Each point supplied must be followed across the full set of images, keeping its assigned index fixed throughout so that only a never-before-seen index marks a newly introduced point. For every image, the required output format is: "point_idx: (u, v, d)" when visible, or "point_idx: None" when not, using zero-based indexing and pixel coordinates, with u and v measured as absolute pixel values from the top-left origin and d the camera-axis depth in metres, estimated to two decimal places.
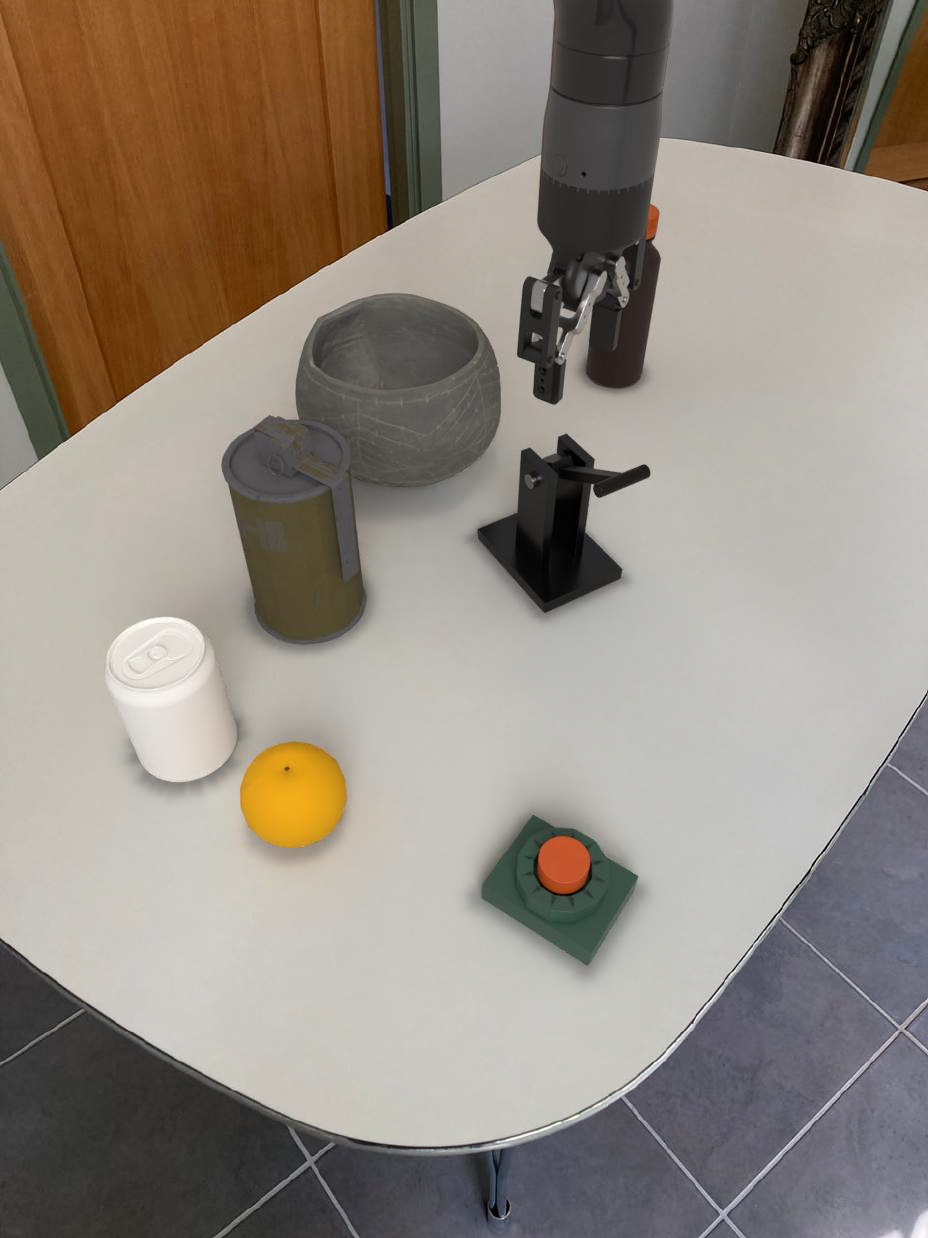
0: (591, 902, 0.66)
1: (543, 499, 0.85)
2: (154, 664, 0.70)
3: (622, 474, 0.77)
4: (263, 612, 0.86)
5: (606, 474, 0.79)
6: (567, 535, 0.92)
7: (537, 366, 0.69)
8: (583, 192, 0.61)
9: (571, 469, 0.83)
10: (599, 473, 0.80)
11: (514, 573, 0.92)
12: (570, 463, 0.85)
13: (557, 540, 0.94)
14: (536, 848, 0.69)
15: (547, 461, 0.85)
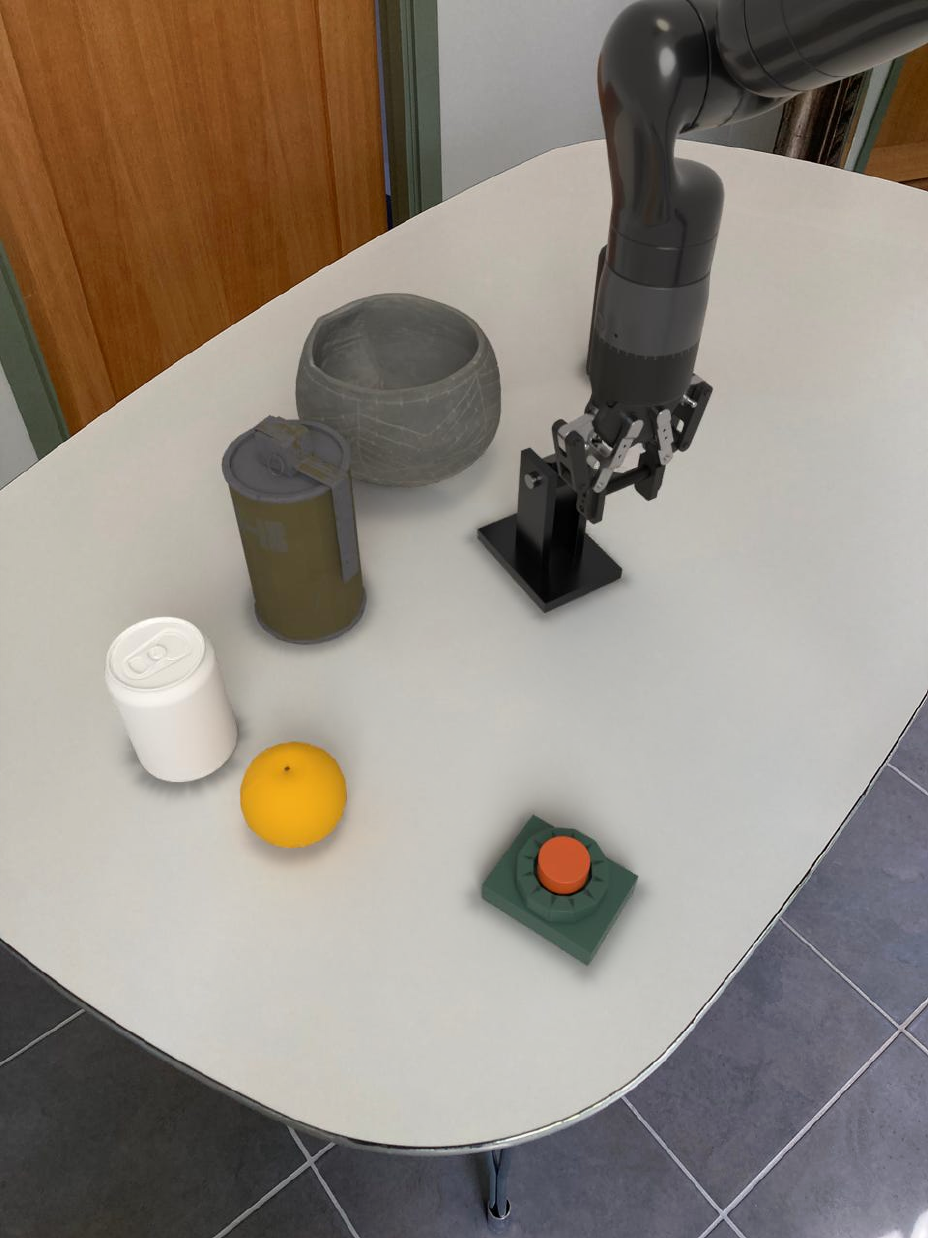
0: (591, 902, 0.66)
1: (543, 499, 0.85)
2: (154, 664, 0.70)
3: (622, 474, 0.77)
4: (263, 612, 0.86)
5: None
6: (567, 535, 0.92)
7: None
8: (614, 350, 0.65)
9: None
10: None
11: (514, 573, 0.92)
12: None
13: (557, 540, 0.94)
14: (536, 848, 0.69)
15: (547, 461, 0.85)
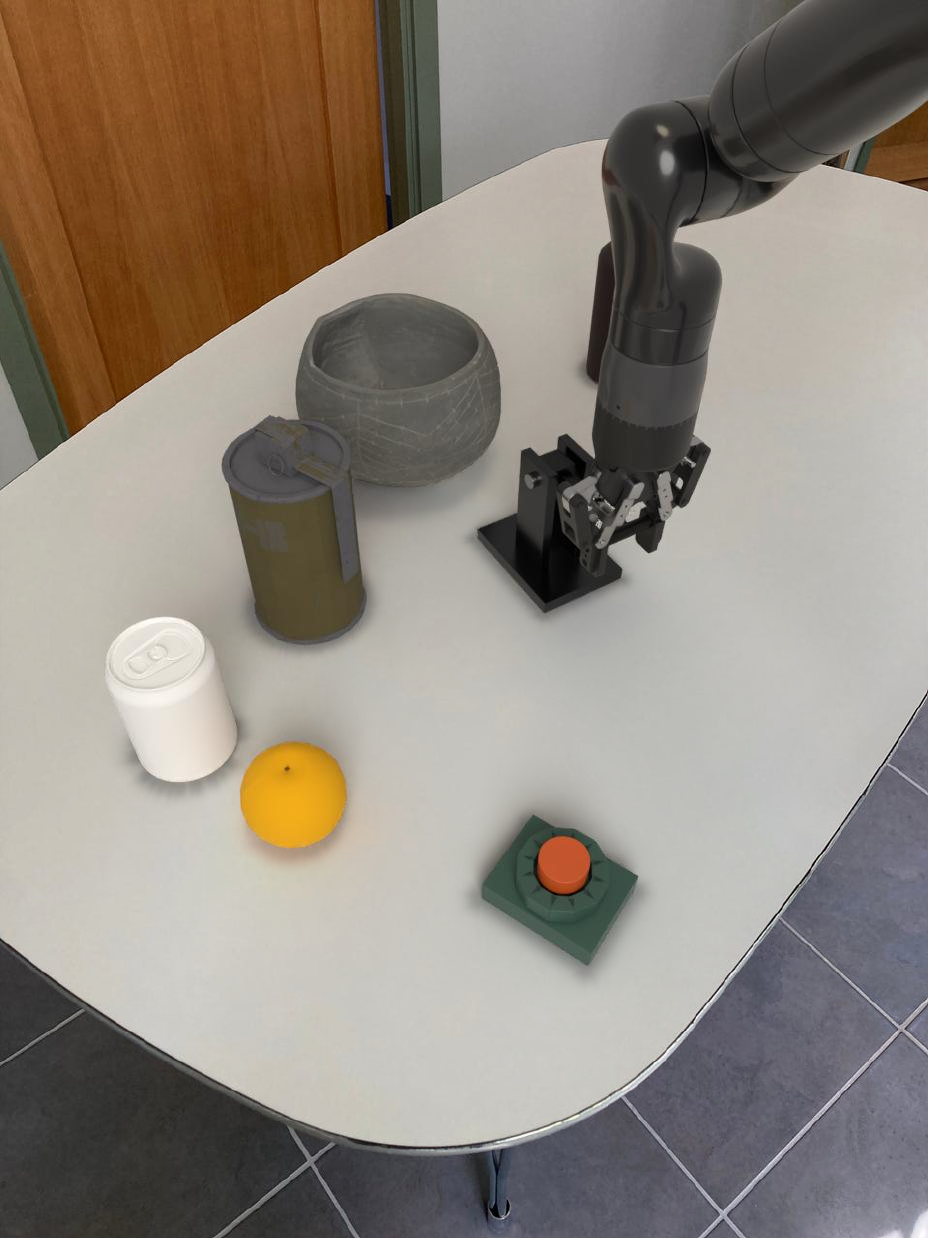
0: (591, 902, 0.66)
1: (543, 499, 0.85)
2: (154, 664, 0.70)
3: (627, 527, 0.80)
4: (263, 612, 0.86)
5: None
6: None
7: None
8: (617, 420, 0.69)
9: None
10: None
11: (514, 573, 0.92)
12: (572, 471, 0.85)
13: (557, 540, 0.94)
14: (536, 848, 0.69)
15: (551, 465, 0.85)
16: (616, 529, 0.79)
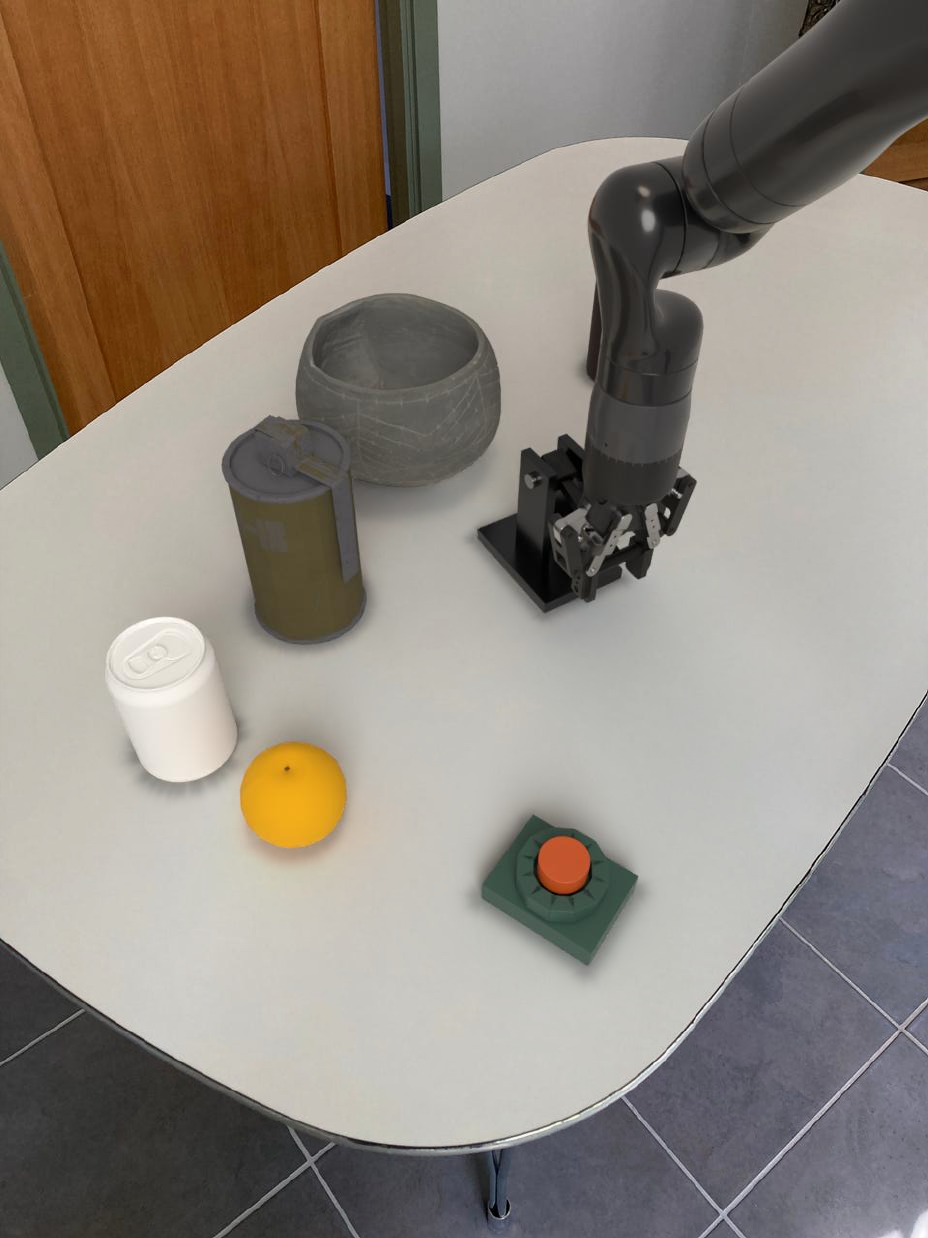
0: (591, 902, 0.66)
1: (543, 499, 0.85)
2: (154, 664, 0.70)
3: (619, 556, 0.83)
4: (263, 612, 0.86)
5: None
6: None
7: None
8: (605, 457, 0.72)
9: (573, 496, 0.85)
10: None
11: (514, 573, 0.92)
12: (572, 476, 0.86)
13: None
14: (536, 848, 0.69)
15: (553, 469, 0.85)
16: (609, 558, 0.82)
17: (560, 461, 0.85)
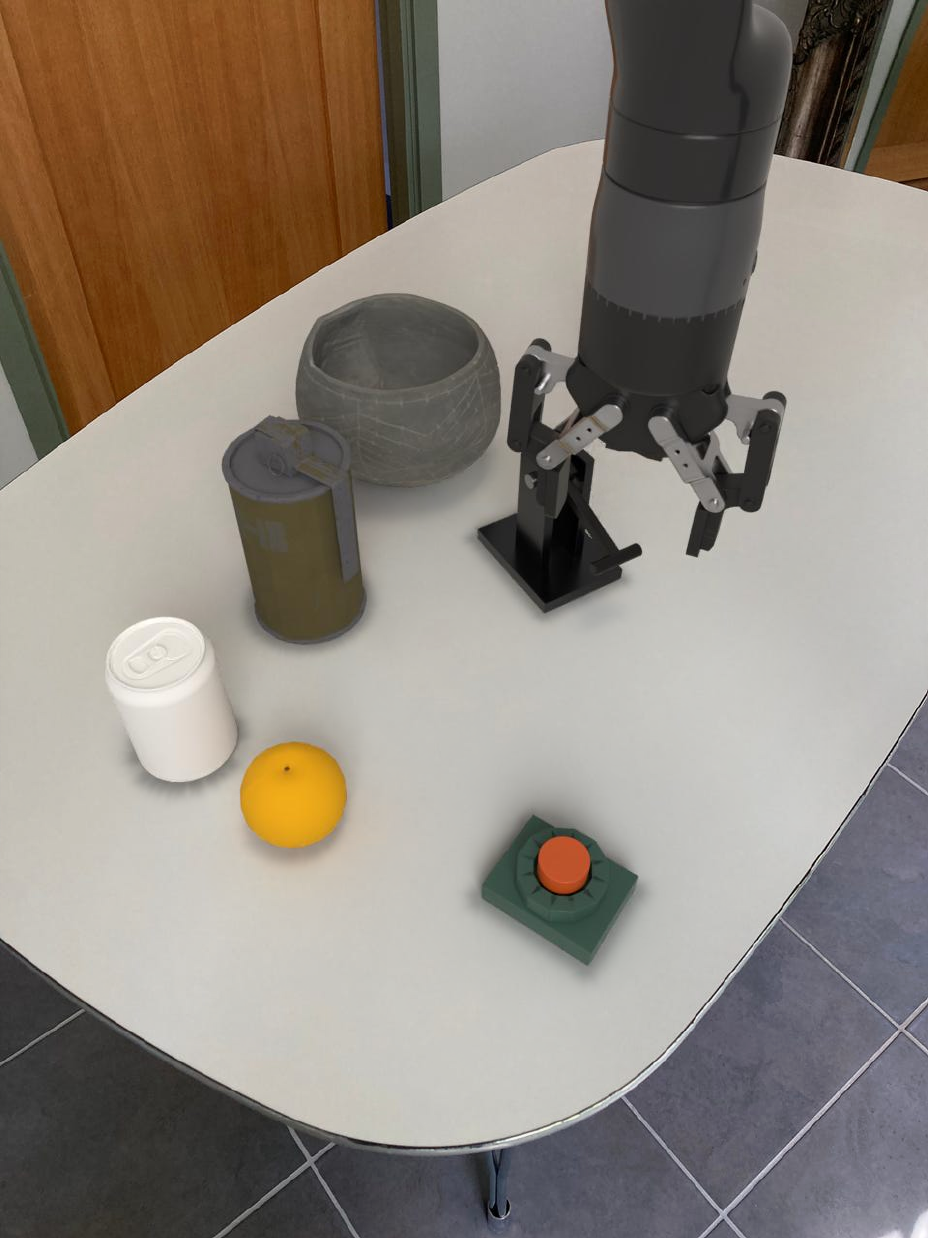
0: (591, 902, 0.66)
1: None
2: (154, 664, 0.70)
3: (619, 557, 0.83)
4: (263, 612, 0.86)
5: (604, 542, 0.83)
6: (567, 535, 0.92)
7: None
8: (585, 274, 0.45)
9: (573, 496, 0.85)
10: (598, 533, 0.83)
11: (514, 573, 0.92)
12: (572, 476, 0.86)
13: (557, 540, 0.94)
14: (536, 848, 0.69)
15: None
16: (609, 559, 0.82)
17: None
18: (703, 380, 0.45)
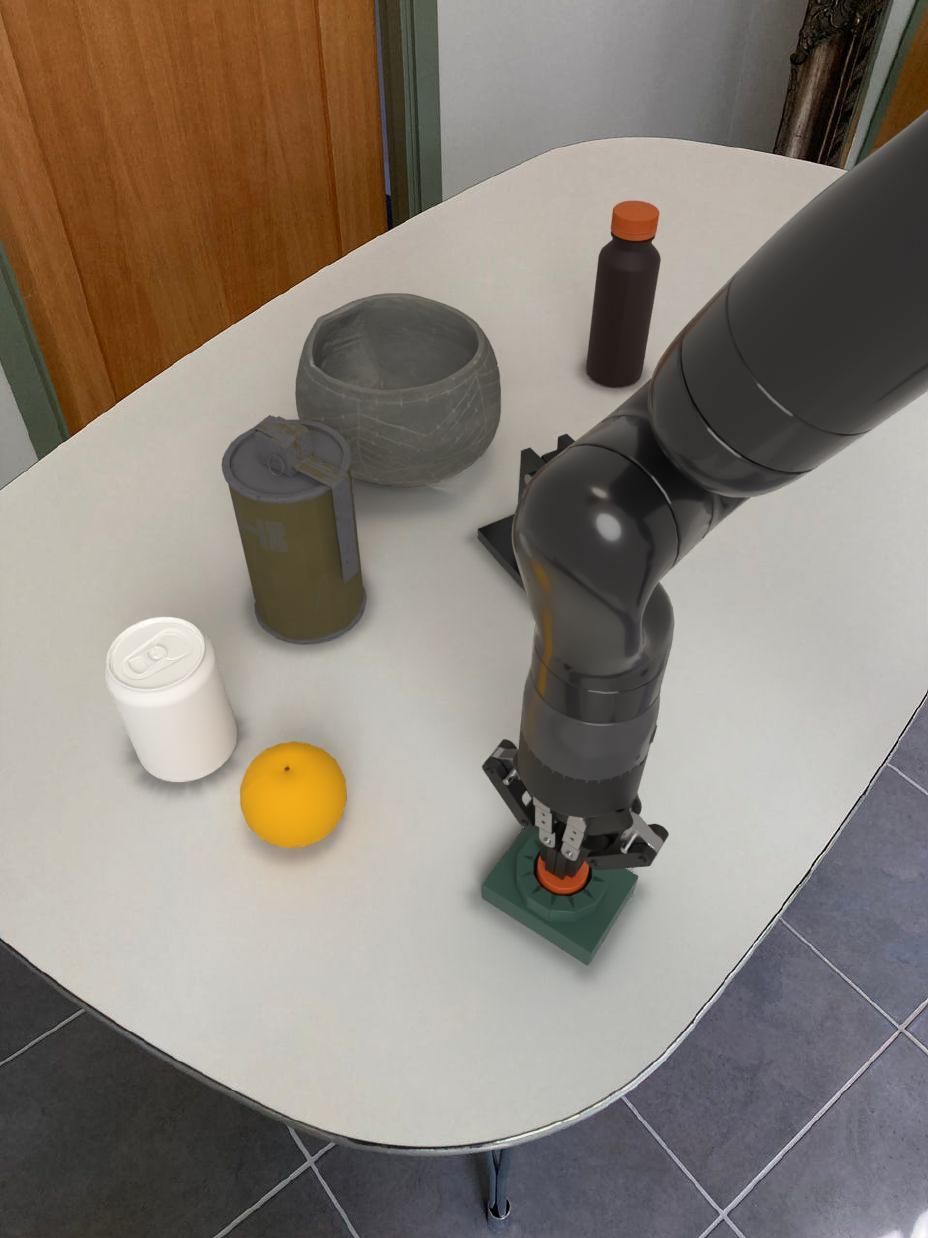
0: (591, 902, 0.66)
1: None
2: (154, 664, 0.70)
3: None
4: (263, 612, 0.86)
5: None
6: None
7: None
8: None
9: None
10: None
11: (514, 573, 0.92)
12: None
13: None
14: (536, 848, 0.69)
15: None
16: None
17: None
18: (605, 811, 0.55)
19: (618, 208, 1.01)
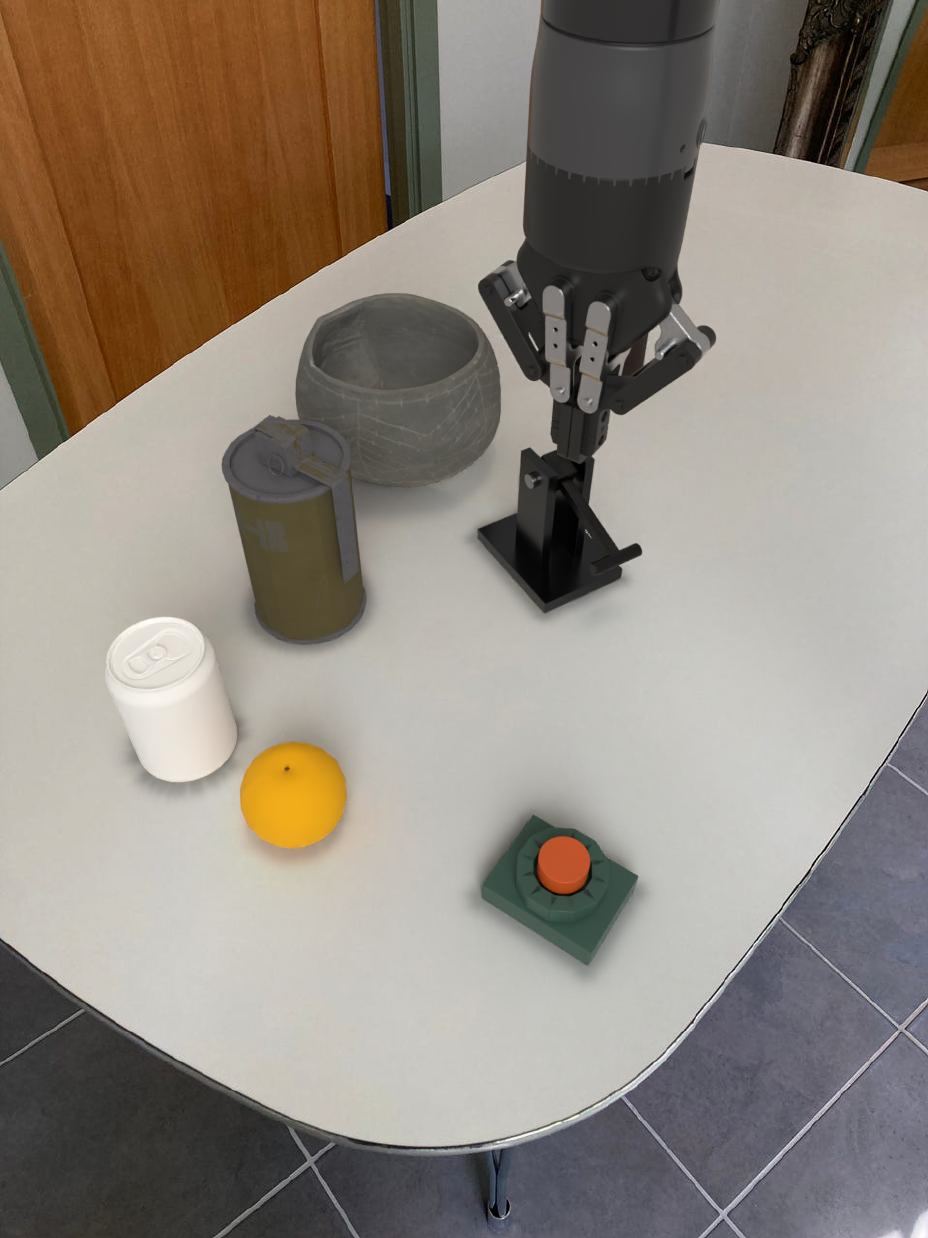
0: (591, 902, 0.66)
1: (543, 499, 0.85)
2: (154, 664, 0.70)
3: (619, 557, 0.83)
4: (263, 612, 0.86)
5: (604, 542, 0.83)
6: (567, 535, 0.92)
7: None
8: None
9: (573, 496, 0.85)
10: (598, 533, 0.83)
11: (514, 573, 0.92)
12: (572, 476, 0.86)
13: (557, 540, 0.94)
14: (536, 848, 0.69)
15: (553, 469, 0.85)
16: (609, 559, 0.82)
17: (560, 461, 0.85)
18: (637, 259, 0.42)
19: None
